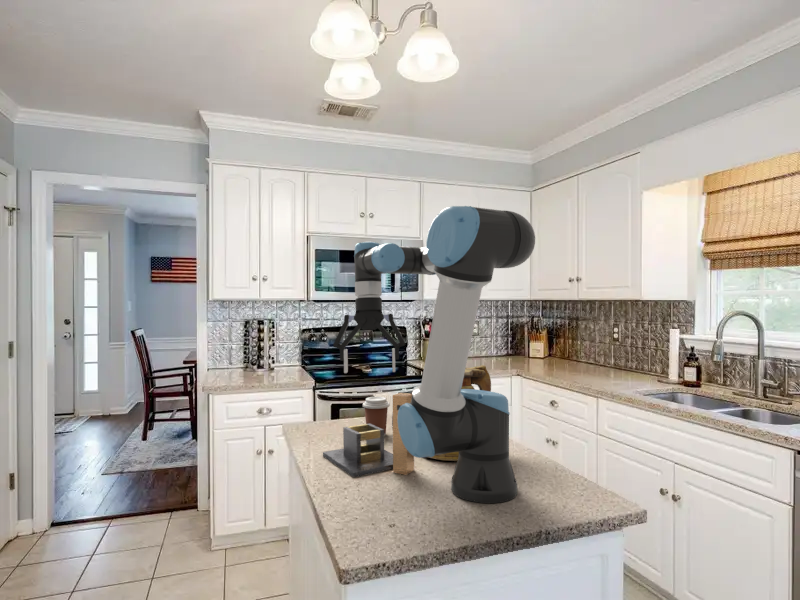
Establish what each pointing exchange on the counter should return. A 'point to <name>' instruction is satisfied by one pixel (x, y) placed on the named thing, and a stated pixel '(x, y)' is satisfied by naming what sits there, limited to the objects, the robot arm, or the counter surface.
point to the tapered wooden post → (401, 456)
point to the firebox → (361, 451)
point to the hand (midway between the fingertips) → (370, 372)
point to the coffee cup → (376, 411)
